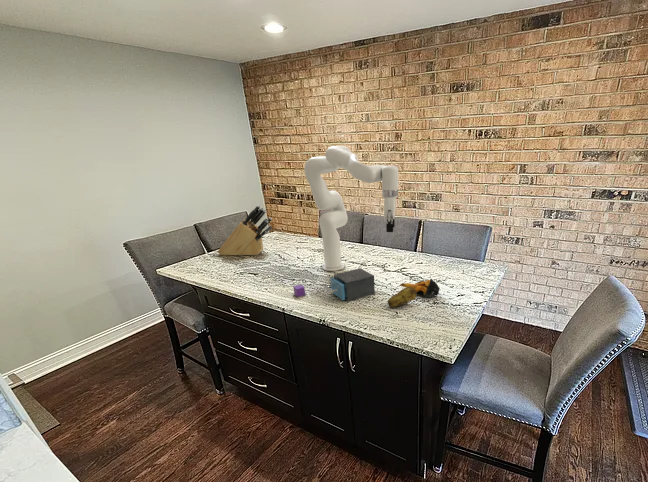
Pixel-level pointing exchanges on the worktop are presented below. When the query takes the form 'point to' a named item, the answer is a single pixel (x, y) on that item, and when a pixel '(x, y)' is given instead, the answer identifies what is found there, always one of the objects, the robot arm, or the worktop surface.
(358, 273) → the grey drawer box
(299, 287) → the purple cube
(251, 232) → the knife block
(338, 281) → the blue drawer
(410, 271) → the worktop surface
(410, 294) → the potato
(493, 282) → the worktop surface
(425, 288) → the fried shrimp in bowl
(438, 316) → the worktop surface
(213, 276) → the worktop surface
